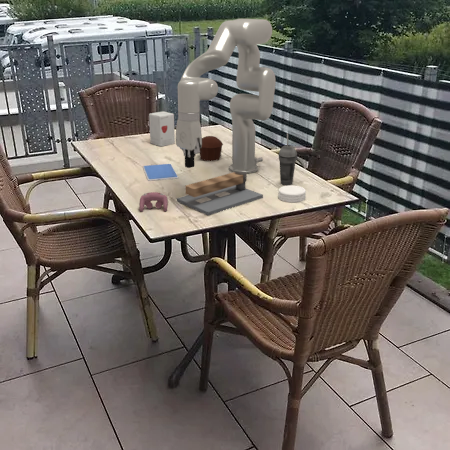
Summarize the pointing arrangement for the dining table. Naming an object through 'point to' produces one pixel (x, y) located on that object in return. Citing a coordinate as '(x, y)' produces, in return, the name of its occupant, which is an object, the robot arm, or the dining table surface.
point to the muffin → (210, 148)
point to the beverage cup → (287, 163)
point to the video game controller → (153, 196)
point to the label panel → (220, 199)
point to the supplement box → (162, 128)
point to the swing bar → (215, 183)
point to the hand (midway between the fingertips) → (189, 166)
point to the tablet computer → (160, 172)
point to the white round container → (291, 193)
